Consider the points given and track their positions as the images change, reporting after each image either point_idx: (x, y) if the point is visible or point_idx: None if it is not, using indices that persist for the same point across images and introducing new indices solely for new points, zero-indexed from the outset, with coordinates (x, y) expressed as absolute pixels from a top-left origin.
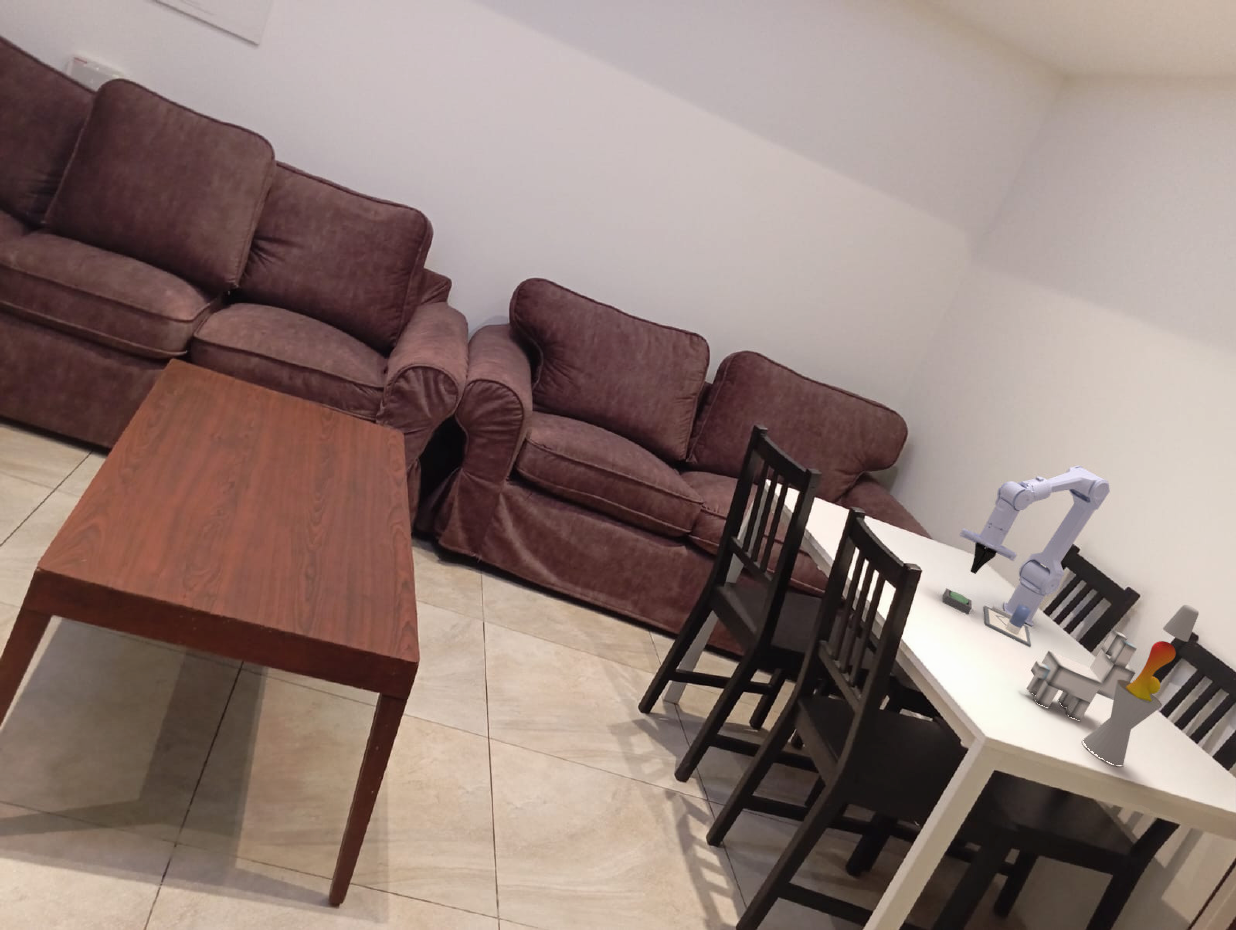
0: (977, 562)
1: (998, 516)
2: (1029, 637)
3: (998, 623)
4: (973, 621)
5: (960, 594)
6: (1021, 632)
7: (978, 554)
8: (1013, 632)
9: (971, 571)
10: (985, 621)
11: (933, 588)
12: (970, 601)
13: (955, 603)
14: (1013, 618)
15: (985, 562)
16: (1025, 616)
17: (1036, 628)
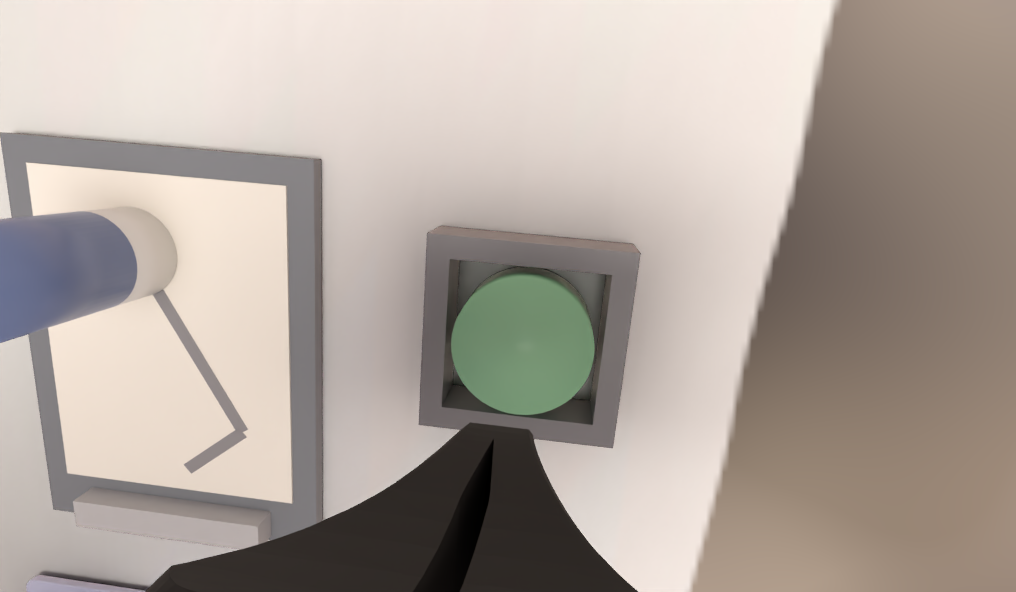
0: (503, 491)
1: None
2: None
3: (225, 279)
4: (406, 117)
5: (511, 407)
6: None
7: (561, 576)
8: (119, 207)
9: (525, 431)
10: (317, 214)
11: (673, 466)
12: (428, 386)
13: (549, 240)
14: (89, 239)
15: (364, 504)
16: None
17: (15, 576)
